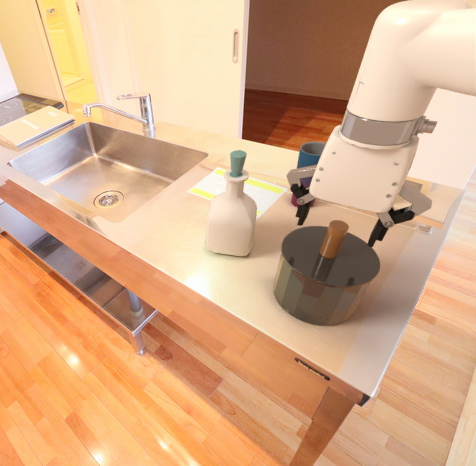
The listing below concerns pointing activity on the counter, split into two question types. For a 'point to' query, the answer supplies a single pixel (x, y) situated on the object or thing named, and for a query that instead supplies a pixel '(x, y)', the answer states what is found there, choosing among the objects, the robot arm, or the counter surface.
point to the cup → (308, 162)
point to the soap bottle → (232, 213)
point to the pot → (314, 298)
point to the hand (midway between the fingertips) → (334, 230)
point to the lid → (330, 256)
